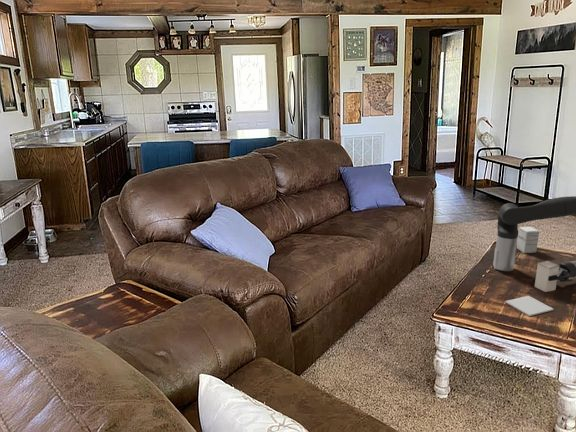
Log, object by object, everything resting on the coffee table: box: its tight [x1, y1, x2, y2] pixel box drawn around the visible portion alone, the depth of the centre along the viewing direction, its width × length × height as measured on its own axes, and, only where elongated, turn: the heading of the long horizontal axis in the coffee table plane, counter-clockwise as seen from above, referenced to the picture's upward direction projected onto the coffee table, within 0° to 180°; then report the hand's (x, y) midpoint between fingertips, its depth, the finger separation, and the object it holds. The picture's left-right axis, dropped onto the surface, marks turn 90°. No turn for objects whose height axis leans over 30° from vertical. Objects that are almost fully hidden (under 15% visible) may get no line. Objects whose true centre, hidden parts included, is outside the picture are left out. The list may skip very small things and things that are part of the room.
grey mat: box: [504, 295, 554, 317], centre depth 198 cm, size 13×13×1 cm
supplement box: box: [516, 226, 540, 254], centre depth 255 cm, size 7×7×13 cm
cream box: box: [534, 260, 559, 293], centre depth 211 cm, size 6×6×12 cm
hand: (542, 275), depth 210 cm, fingers closed on cream box, 6 cm apart
